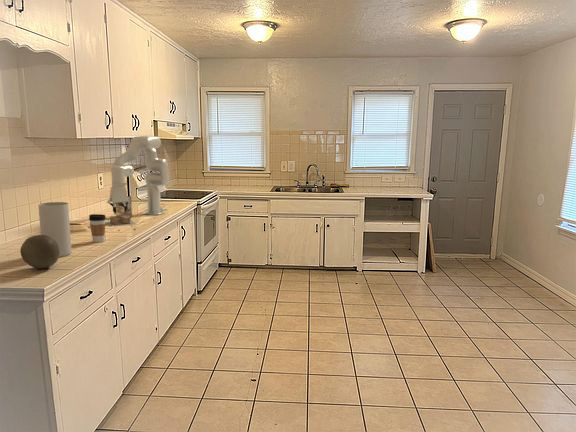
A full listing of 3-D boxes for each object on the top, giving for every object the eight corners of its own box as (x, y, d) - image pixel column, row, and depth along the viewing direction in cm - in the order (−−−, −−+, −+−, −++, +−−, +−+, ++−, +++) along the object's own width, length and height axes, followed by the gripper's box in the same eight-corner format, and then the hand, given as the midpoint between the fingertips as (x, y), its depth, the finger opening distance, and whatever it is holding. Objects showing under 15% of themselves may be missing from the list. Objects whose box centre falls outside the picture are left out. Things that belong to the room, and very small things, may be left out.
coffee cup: (90, 240, 234) (89, 213, 231) (106, 239, 237) (105, 213, 235) (90, 243, 226) (88, 216, 224) (107, 242, 230) (105, 215, 227)
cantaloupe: (34, 264, 188) (31, 231, 185) (66, 264, 189) (64, 232, 186) (15, 273, 174) (12, 238, 172) (50, 274, 175) (47, 239, 172)
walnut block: (125, 221, 282) (125, 215, 282) (130, 223, 274) (129, 217, 274) (110, 222, 276) (109, 216, 276) (114, 225, 268) (113, 219, 268)
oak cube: (122, 213, 278) (122, 206, 277) (124, 215, 274) (124, 207, 273) (114, 214, 275) (114, 206, 274) (116, 215, 271) (116, 208, 270)
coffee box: (132, 218, 302) (131, 195, 299) (128, 219, 295) (127, 197, 293) (120, 217, 303) (119, 195, 300) (115, 219, 296) (114, 196, 293)
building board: (129, 221, 287) (129, 219, 287) (137, 226, 274) (137, 224, 274) (103, 224, 277) (103, 222, 277) (109, 228, 264) (109, 226, 264)
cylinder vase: (64, 249, 213) (61, 201, 208) (76, 254, 205) (72, 204, 201) (38, 254, 203) (34, 203, 199) (48, 259, 195) (44, 206, 191)
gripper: (130, 184, 279) (131, 210, 282) (103, 184, 269) (104, 212, 272) (133, 185, 273) (134, 212, 276) (105, 186, 263) (107, 214, 266)
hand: (119, 212), depth 274 cm, fingers closed on oak cube, 5 cm apart
